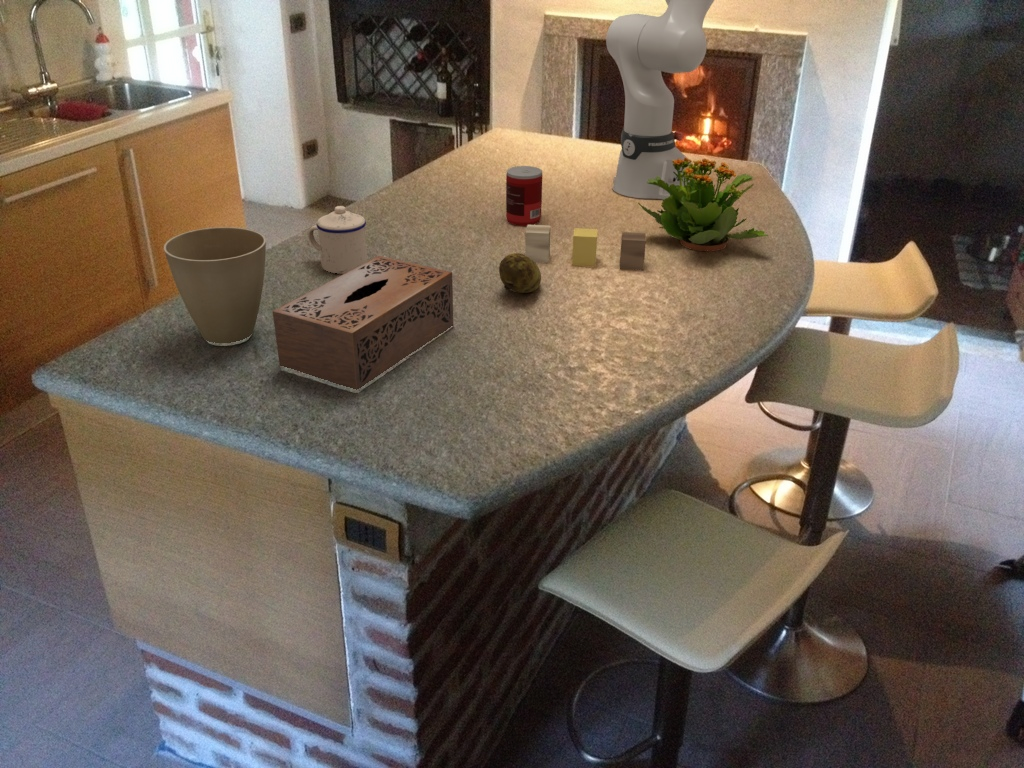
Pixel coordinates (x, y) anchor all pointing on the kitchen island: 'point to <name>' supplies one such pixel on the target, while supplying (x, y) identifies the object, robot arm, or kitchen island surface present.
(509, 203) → the canned food
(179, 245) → the plant pot
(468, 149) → the kitchen island surface
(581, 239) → the mustard block
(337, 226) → the teacup with lid
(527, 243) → the birch block
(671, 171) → the robot arm
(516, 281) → the potato
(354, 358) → the tissue box cover
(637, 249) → the walnut block
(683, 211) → the potted flower
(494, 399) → the kitchen island surface
